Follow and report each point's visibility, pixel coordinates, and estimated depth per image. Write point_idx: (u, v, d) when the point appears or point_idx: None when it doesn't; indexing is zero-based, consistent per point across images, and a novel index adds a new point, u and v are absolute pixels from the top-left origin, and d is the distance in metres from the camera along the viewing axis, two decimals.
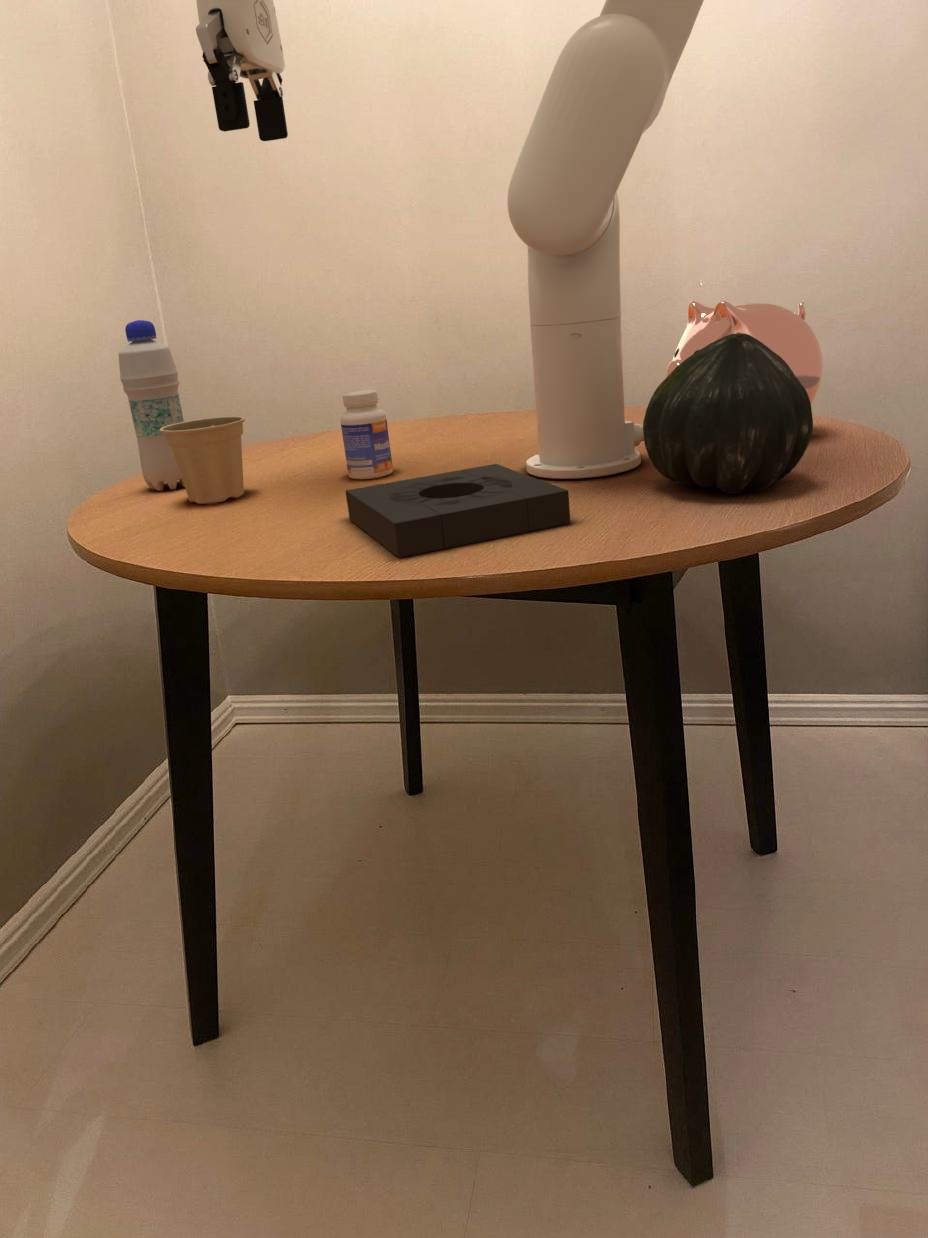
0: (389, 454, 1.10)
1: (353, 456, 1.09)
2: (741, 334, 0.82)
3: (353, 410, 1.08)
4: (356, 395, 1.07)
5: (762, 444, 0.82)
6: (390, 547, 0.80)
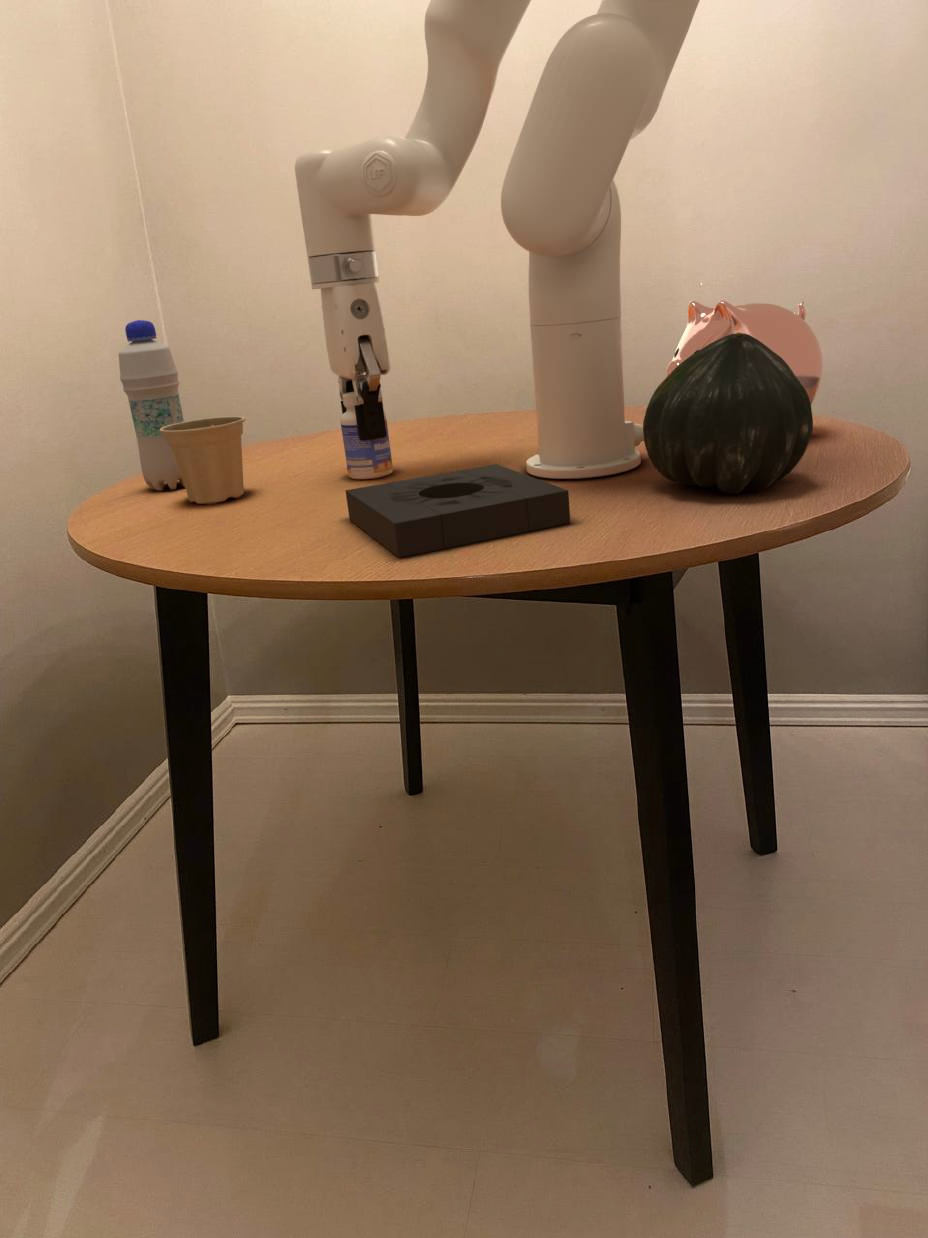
0: (389, 454, 1.10)
1: (353, 456, 1.09)
2: (741, 334, 0.82)
3: (353, 410, 1.08)
4: None
5: (762, 444, 0.82)
6: (390, 547, 0.80)
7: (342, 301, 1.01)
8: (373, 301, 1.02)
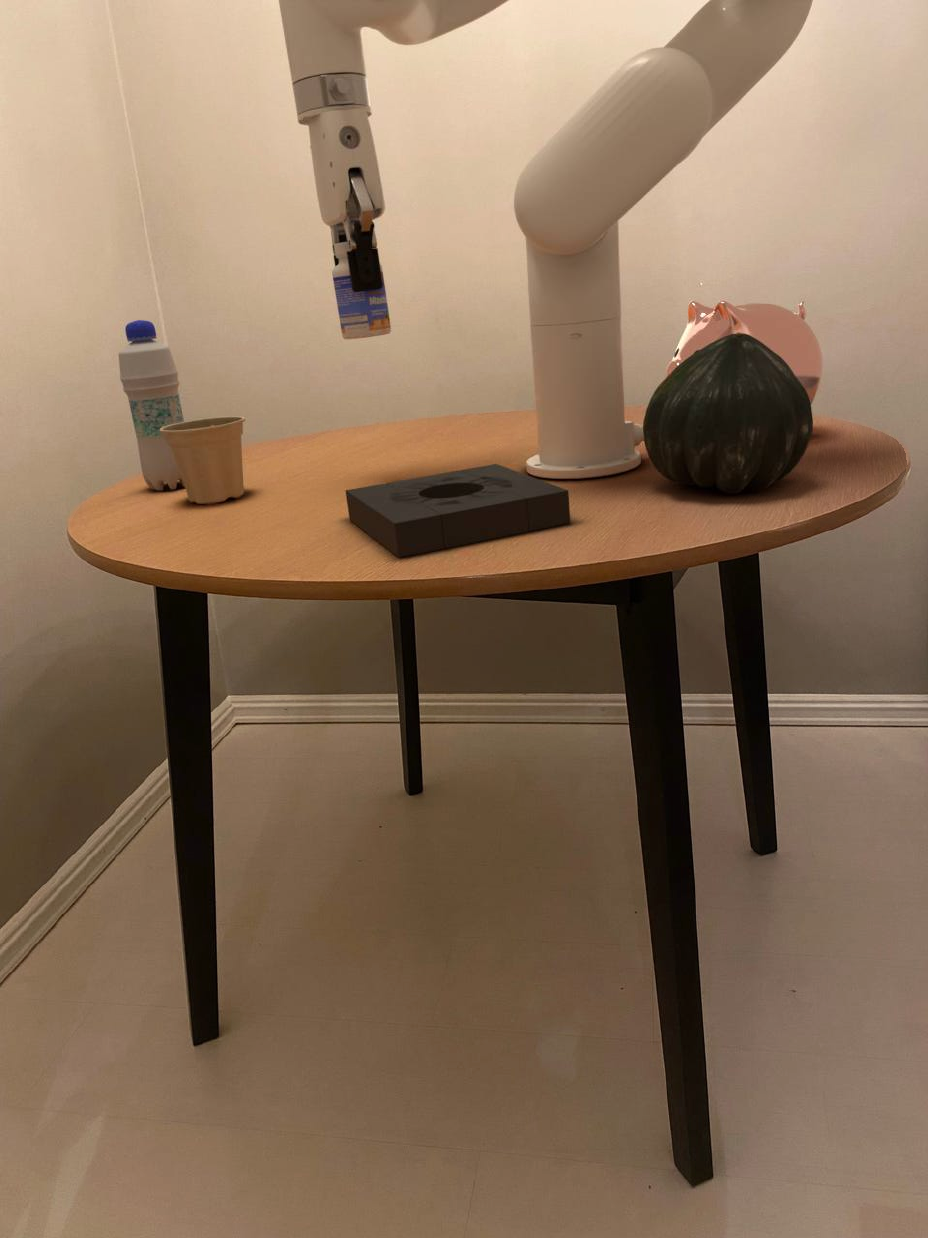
0: (386, 311, 1.01)
1: (346, 312, 1.00)
2: (741, 334, 0.82)
3: (345, 259, 0.99)
4: None
5: (762, 444, 0.82)
6: (390, 547, 0.80)
7: (330, 128, 0.91)
8: (364, 128, 0.92)
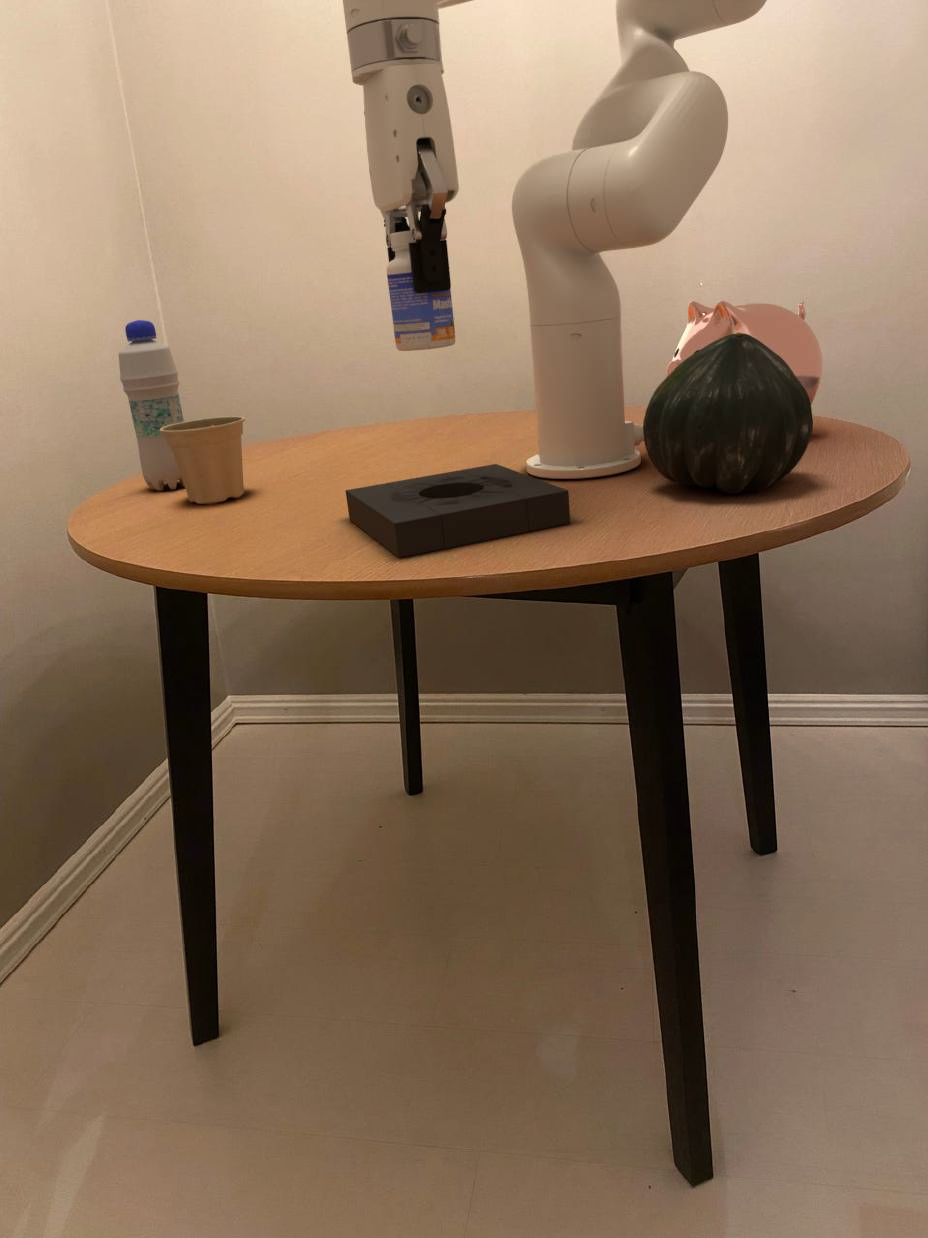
0: (451, 317, 0.82)
1: (403, 318, 0.81)
2: (741, 334, 0.82)
3: (404, 253, 0.80)
4: (409, 231, 0.79)
5: (762, 444, 0.82)
6: (390, 547, 0.80)
7: (395, 88, 0.73)
8: (438, 89, 0.74)
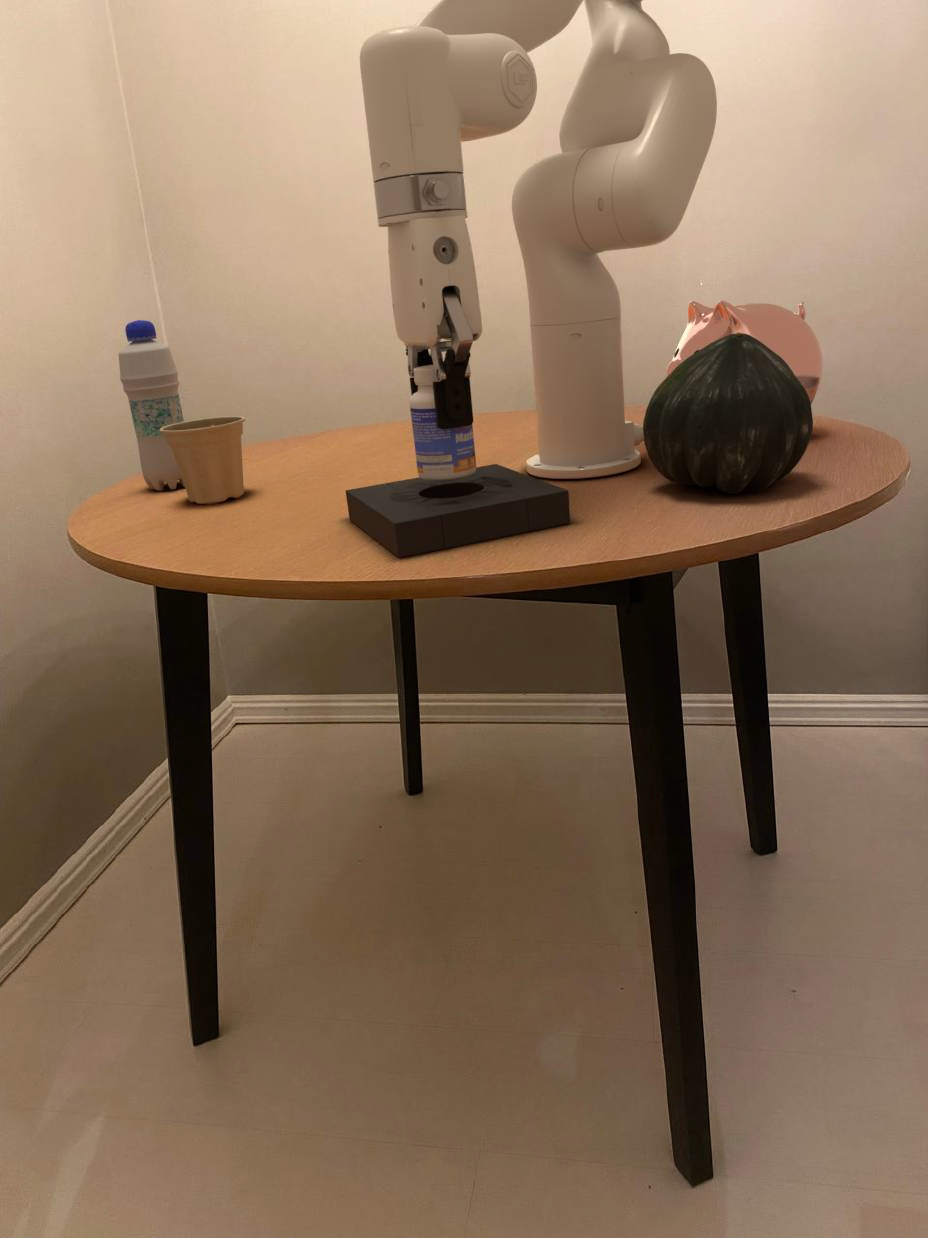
0: (473, 448, 0.84)
1: (426, 450, 0.83)
2: (741, 334, 0.82)
3: (428, 388, 0.81)
4: (433, 369, 0.81)
5: (762, 444, 0.82)
6: (390, 547, 0.80)
7: (422, 240, 0.75)
8: (463, 239, 0.75)
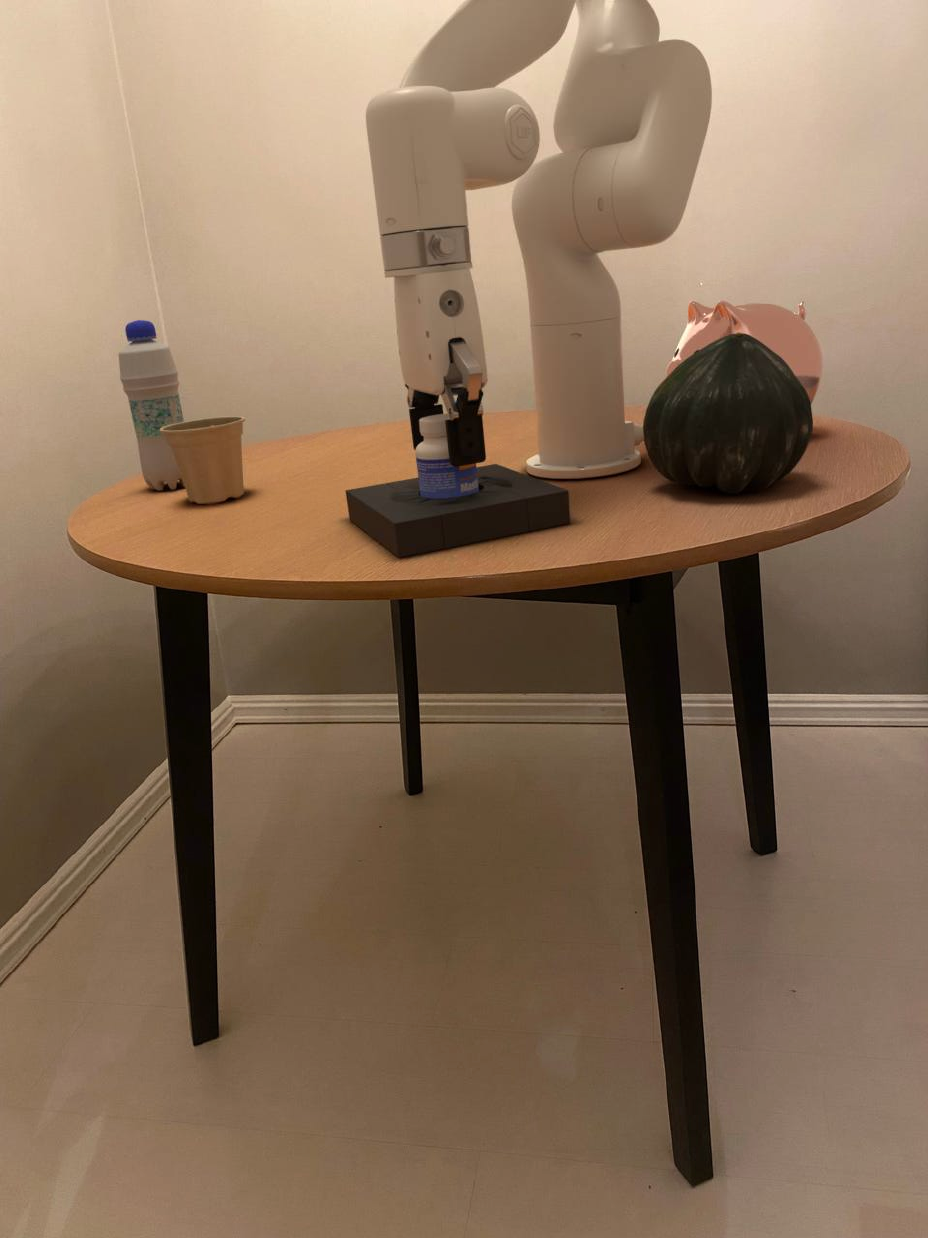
0: None
1: None
2: (741, 334, 0.82)
3: (433, 439, 0.83)
4: (438, 421, 0.82)
5: (762, 444, 0.82)
6: (390, 547, 0.80)
7: (428, 293, 0.76)
8: (468, 292, 0.77)
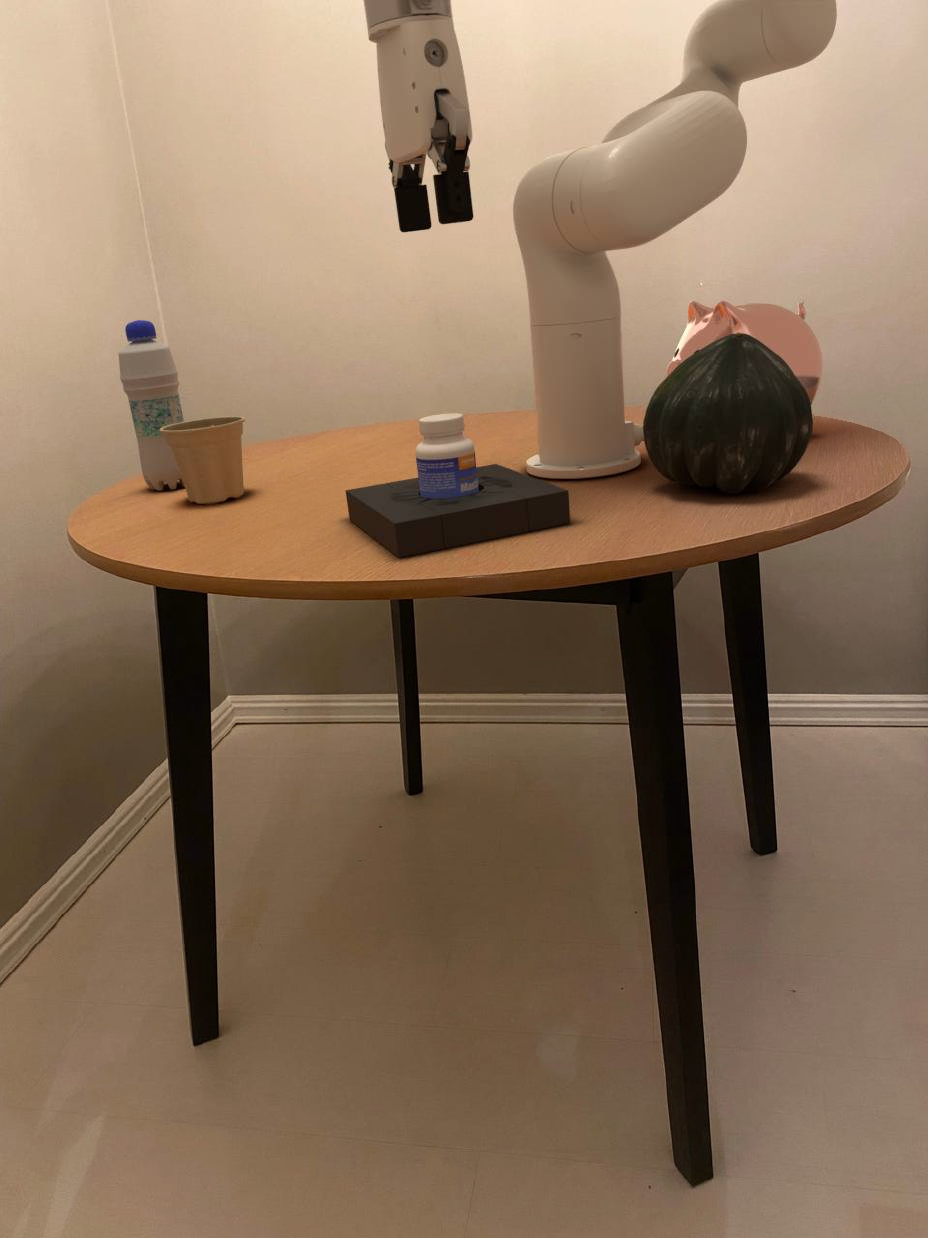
0: None
1: None
2: (741, 334, 0.82)
3: (433, 439, 0.83)
4: (438, 421, 0.82)
5: (762, 444, 0.82)
6: (390, 547, 0.80)
7: (413, 42, 0.78)
8: (452, 43, 0.79)
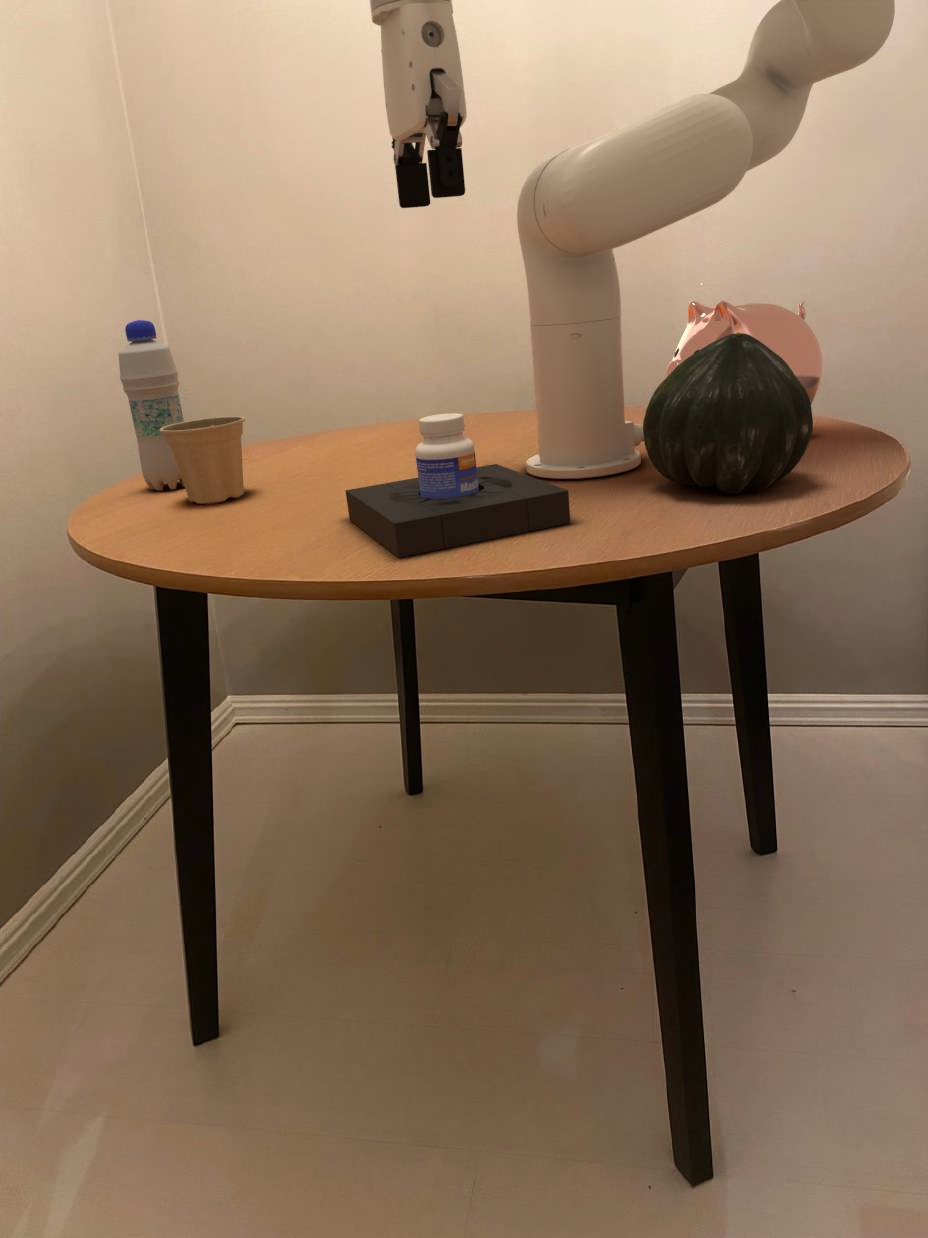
0: None
1: None
2: (741, 334, 0.82)
3: (433, 439, 0.83)
4: (438, 421, 0.82)
5: (762, 444, 0.82)
6: (390, 547, 0.80)
7: (411, 23, 0.83)
8: (448, 25, 0.83)
